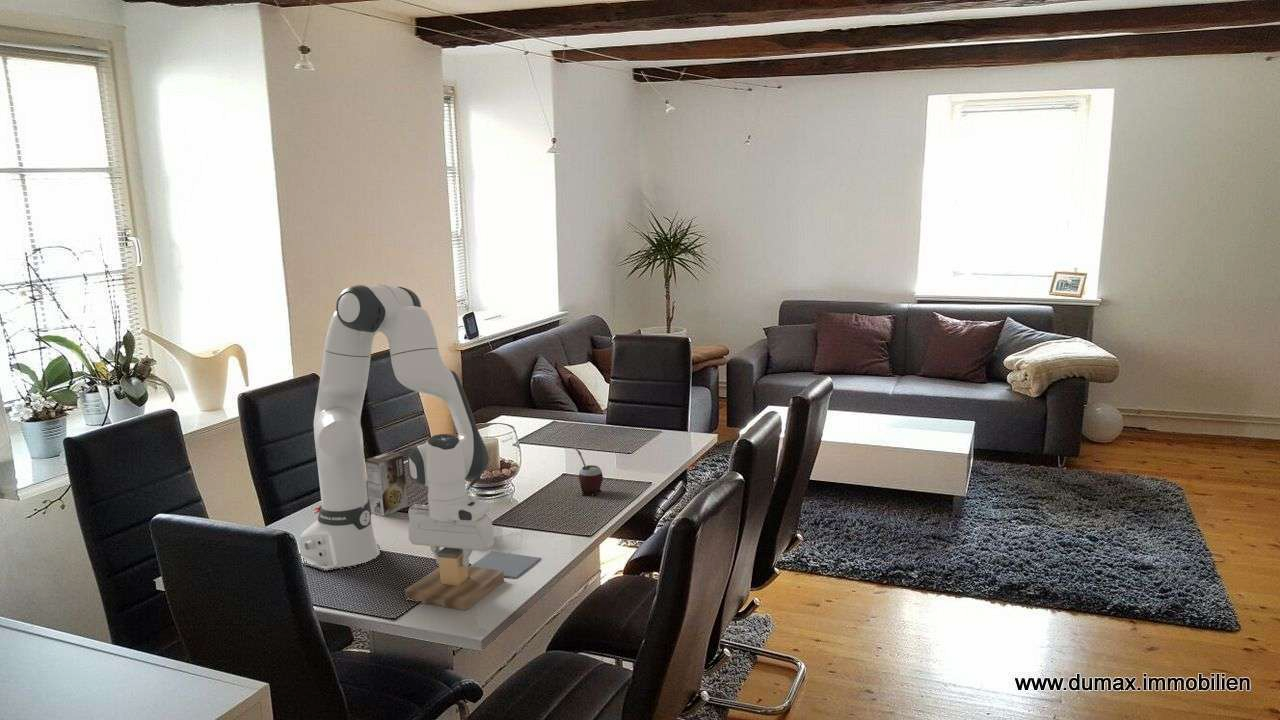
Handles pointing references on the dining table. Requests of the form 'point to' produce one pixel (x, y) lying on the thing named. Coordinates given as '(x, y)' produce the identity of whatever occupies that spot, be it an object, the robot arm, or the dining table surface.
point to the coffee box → (386, 483)
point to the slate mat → (507, 563)
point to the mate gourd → (589, 477)
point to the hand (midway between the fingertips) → (452, 564)
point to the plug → (452, 566)
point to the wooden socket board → (455, 588)
